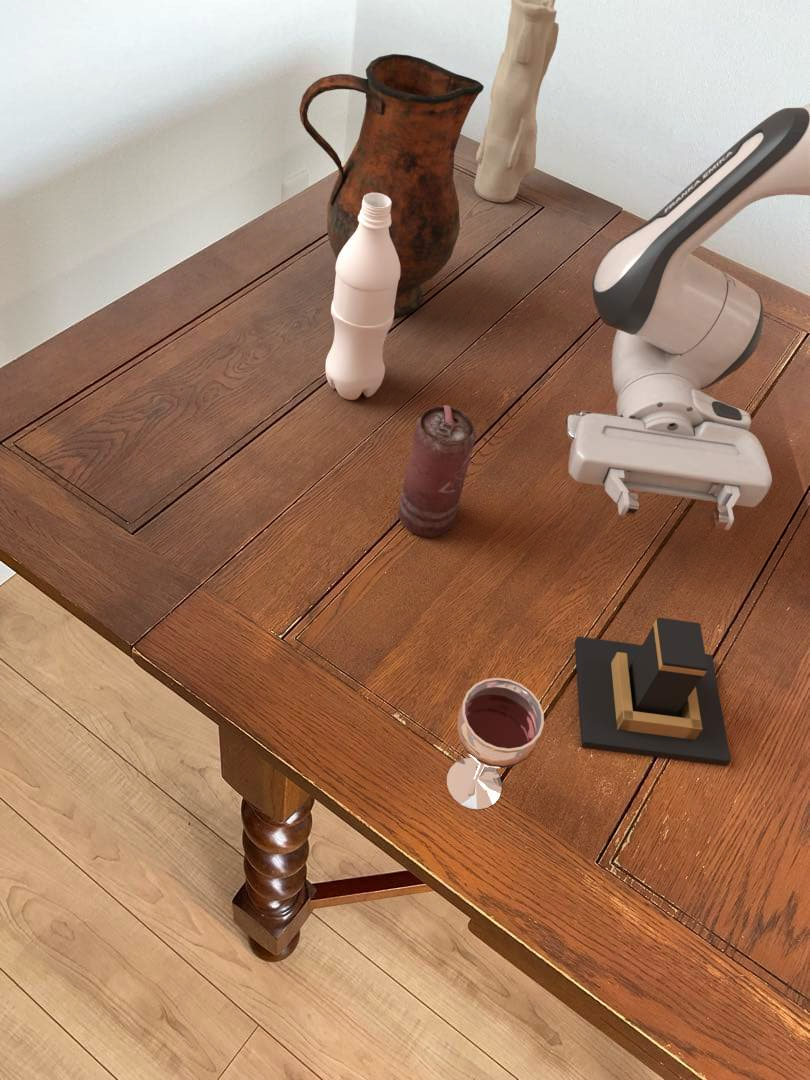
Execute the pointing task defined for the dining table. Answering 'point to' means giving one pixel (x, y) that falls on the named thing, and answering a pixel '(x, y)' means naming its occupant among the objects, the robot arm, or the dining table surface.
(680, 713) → the base pad
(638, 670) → the upright block
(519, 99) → the vase
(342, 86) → the pitcher
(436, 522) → the can
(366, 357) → the water bottle
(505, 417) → the dining table surface
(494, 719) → the wineglass
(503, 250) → the dining table surface
